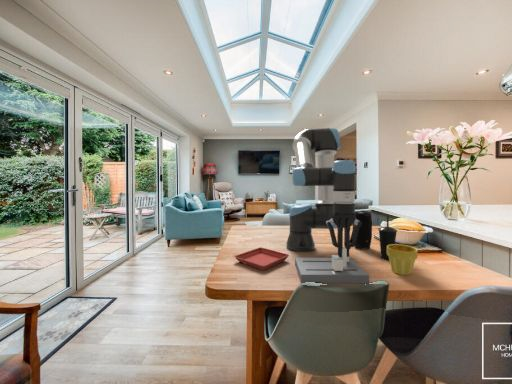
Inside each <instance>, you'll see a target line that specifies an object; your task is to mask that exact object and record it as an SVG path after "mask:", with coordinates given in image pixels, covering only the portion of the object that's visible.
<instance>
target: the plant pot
mask: <svg viewBox="0 0 512 384" xmlns="http://www.w3.org/2000/svg"><path fill="white" fill-rule="evenodd" d="M418 253H419V252H418V249H417V248H416V247H414V246H411V245H406V244H400V243H399V244H398V243H395V244H391V245H388V246H387V255H388V256H389V260H388V261H389V263H390V268H391V269H390V270H391V271H392V272H393V273H394V274H397V275H402V276H409V275H411V274H412V271H413V268H414V265H415V261H416V260H417V259H418V255H419V254H418Z"/></svg>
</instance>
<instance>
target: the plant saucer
mask: <svg viewBox="0 0 512 384" xmlns="http://www.w3.org/2000/svg"><path fill="white" fill-rule="evenodd" d="M289 256H290V255H289V254H287V253H284V252H280V251H275V250H272V249H269V248H265V247H260V246H259V247H257V248H254V249H252V250H248V251H245V252H242V253H239V254H236V255H234V258H235V259H236V260H237V261H238V262H239V263H240V262H242V263H241V264H243V263H245V264H244V265H246V264H247V265H246V266H249V265H250V266H249V267H252V266H253V267H252V268H255V269H257V270H260V269H261V271H265V270H268V269H269V268H273V267H274V266H276V265H278V264H280V263H283V262H285V261H286V259H288V258H289Z"/></svg>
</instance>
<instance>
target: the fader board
mask: <svg viewBox="0 0 512 384" xmlns="http://www.w3.org/2000/svg"><path fill="white" fill-rule="evenodd" d="M294 266H295V269H296V271H297V274H298V277H299V281H300V284H301V283H302V284H304V283H303V282H322V283H321V284H370V274H369V273H368V272H367V271H366V270H365V269H364V268H362V267H361V265H359V264H358V263H357V262H356V261H355V260H354V259H353V258H352V257H349V262H347V267H343V271H334V269H333V268H332V257H294Z"/></svg>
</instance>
